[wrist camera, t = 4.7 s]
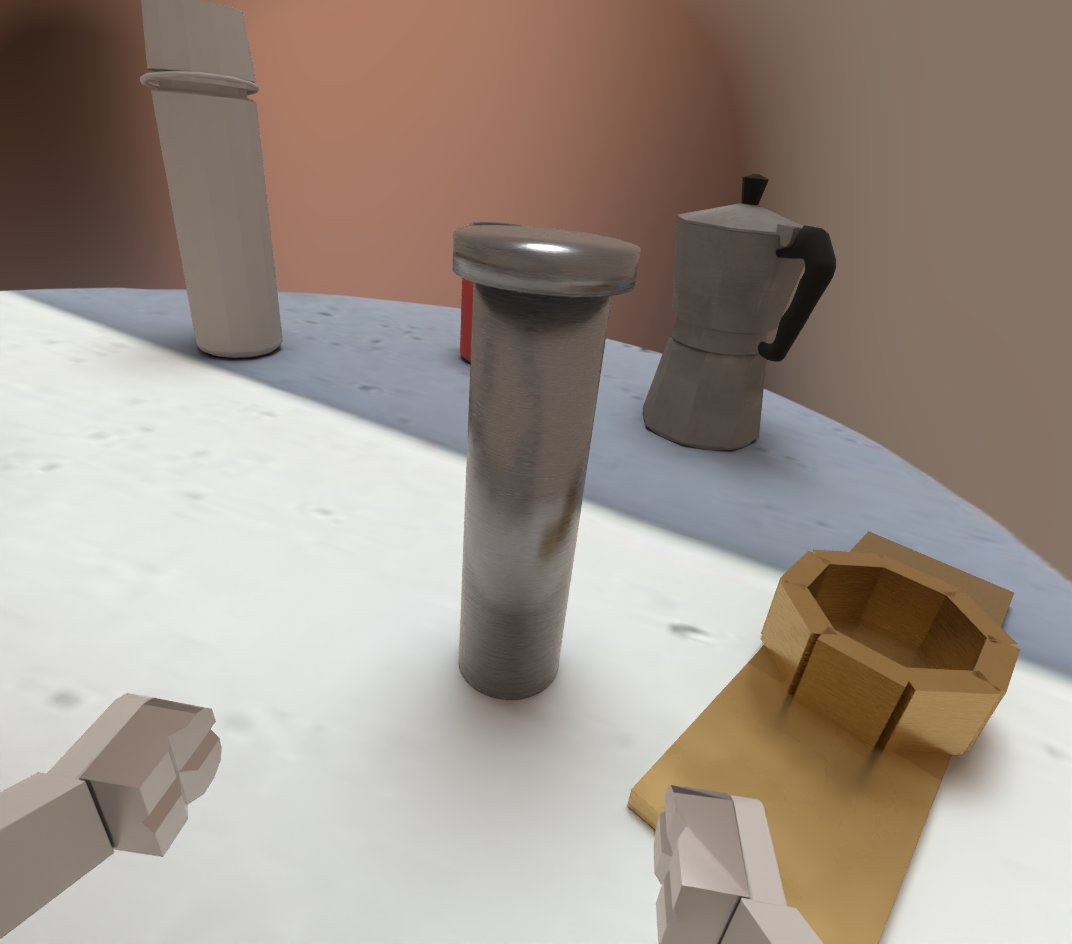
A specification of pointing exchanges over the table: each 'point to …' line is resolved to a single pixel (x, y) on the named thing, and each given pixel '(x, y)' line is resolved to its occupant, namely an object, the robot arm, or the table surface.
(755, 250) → the coffeepot
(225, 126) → the water bottle
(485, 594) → the pin
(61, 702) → the table surface
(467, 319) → the beer can
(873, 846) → the octagonal peg holder board
